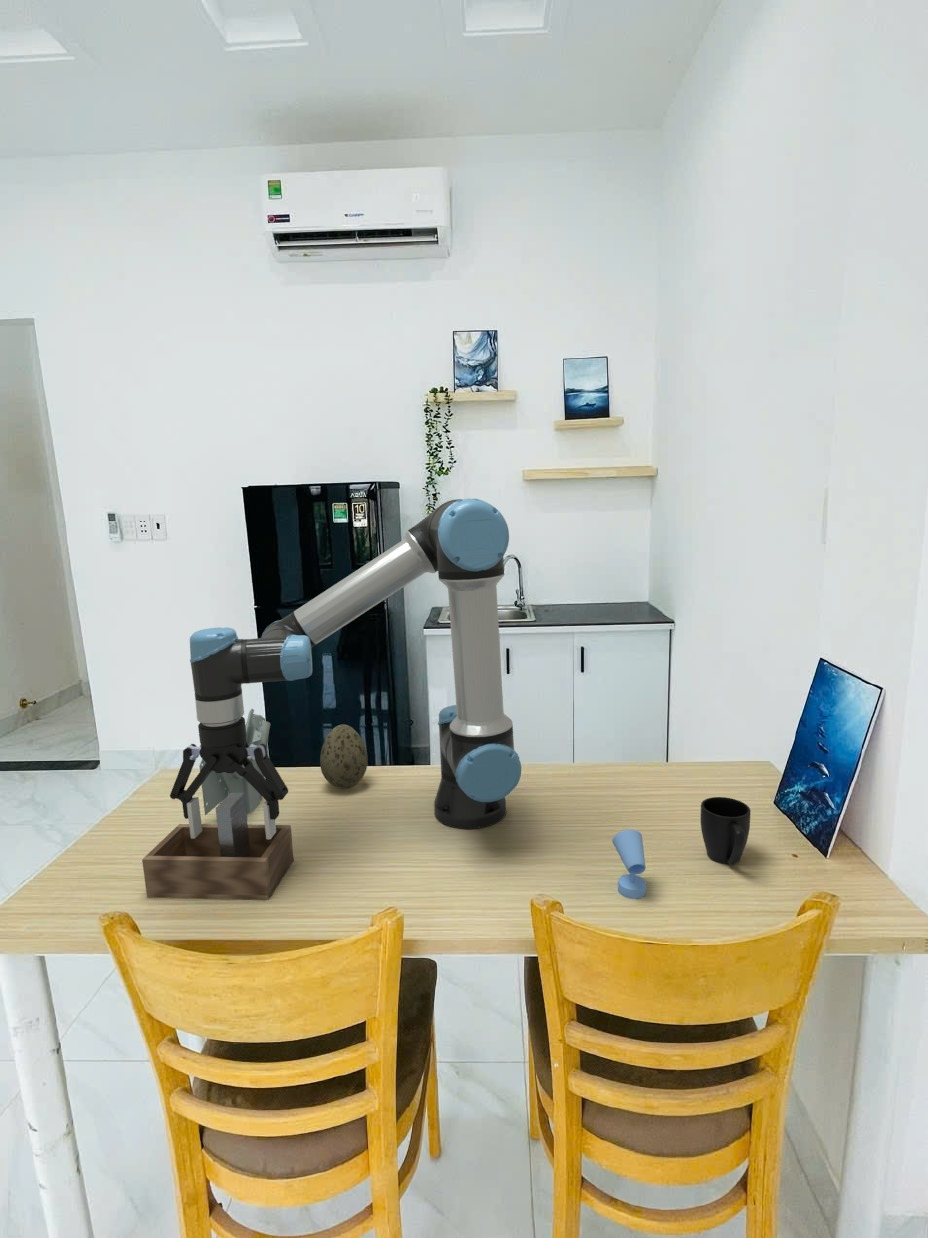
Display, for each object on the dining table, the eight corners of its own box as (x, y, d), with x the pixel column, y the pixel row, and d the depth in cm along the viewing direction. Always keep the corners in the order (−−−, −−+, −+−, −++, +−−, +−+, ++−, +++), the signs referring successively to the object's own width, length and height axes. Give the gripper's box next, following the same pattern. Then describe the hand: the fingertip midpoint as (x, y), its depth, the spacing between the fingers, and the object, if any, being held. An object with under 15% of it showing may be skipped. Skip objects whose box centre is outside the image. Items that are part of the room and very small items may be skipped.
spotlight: (610, 878, 114) (622, 902, 107) (611, 824, 112) (622, 845, 105) (639, 876, 114) (652, 900, 107) (639, 822, 112) (653, 843, 106)
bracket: (225, 840, 132) (215, 744, 128) (192, 838, 133) (181, 743, 129) (285, 781, 158) (278, 701, 155) (257, 780, 159) (250, 700, 156)
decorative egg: (370, 793, 150) (366, 730, 148) (322, 799, 148) (317, 735, 145) (367, 774, 161) (363, 715, 158) (322, 780, 158) (317, 719, 156)
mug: (711, 880, 112) (713, 828, 111) (694, 843, 124) (695, 796, 122) (762, 881, 111) (765, 829, 110) (740, 844, 123) (742, 796, 121)
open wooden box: (293, 859, 123) (290, 825, 122) (268, 899, 111) (264, 861, 110) (183, 858, 125) (179, 823, 124) (147, 897, 113) (142, 859, 112)
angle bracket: (251, 864, 121) (244, 792, 118) (237, 883, 115) (229, 808, 112) (209, 864, 121) (201, 792, 119) (193, 882, 116) (184, 807, 113)
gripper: (300, 711, 115) (309, 825, 119) (163, 712, 118) (176, 823, 121) (285, 726, 108) (295, 847, 112) (139, 727, 110) (154, 845, 114)
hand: (233, 835), depth 117 cm, fingers open, 13 cm apart
